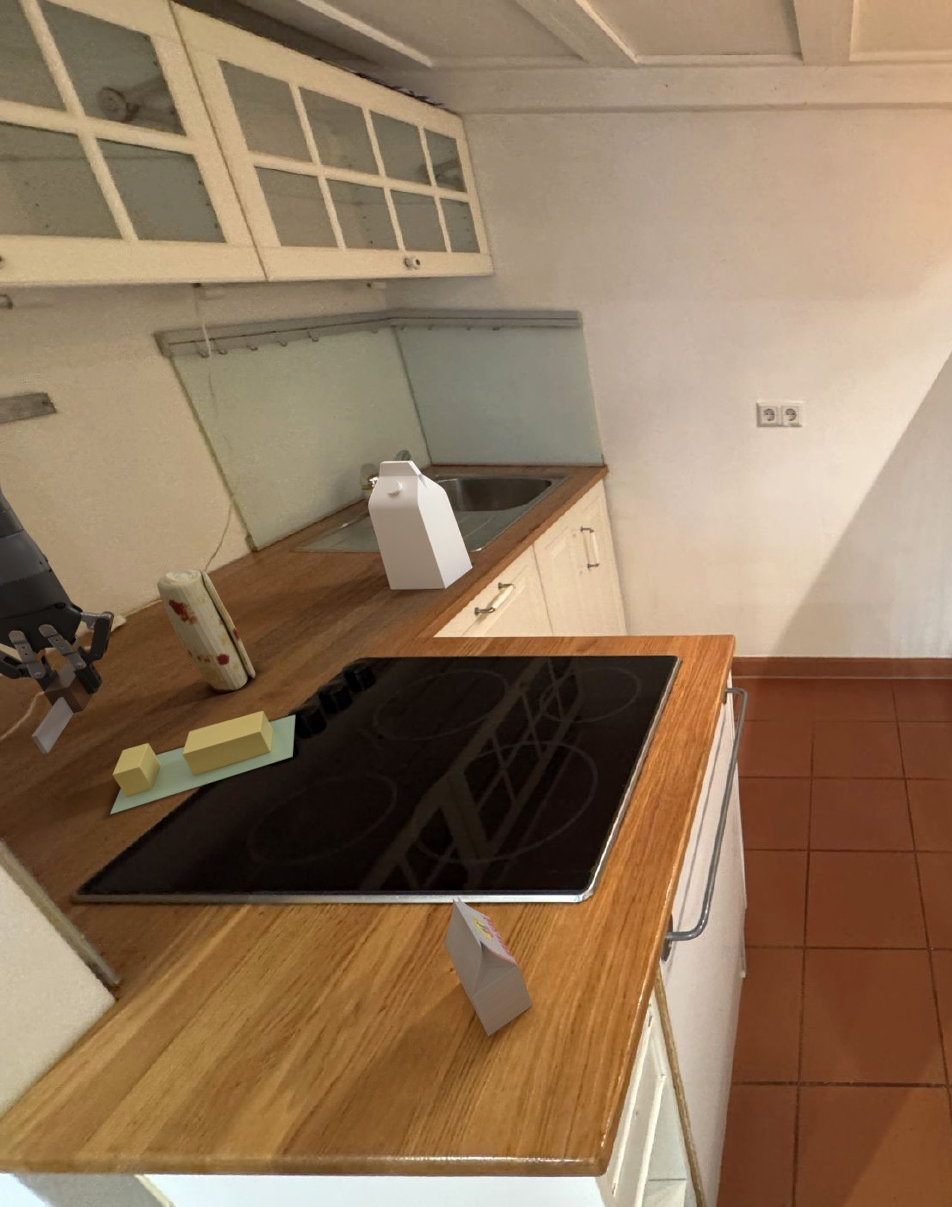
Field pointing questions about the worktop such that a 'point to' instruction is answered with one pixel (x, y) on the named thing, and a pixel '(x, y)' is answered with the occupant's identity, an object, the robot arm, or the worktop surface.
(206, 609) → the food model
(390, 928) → the worktop surface
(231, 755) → the butter block
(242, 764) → the butter dish
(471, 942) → the gable top carton
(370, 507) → the milk
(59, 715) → the butter knife
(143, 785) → the block
